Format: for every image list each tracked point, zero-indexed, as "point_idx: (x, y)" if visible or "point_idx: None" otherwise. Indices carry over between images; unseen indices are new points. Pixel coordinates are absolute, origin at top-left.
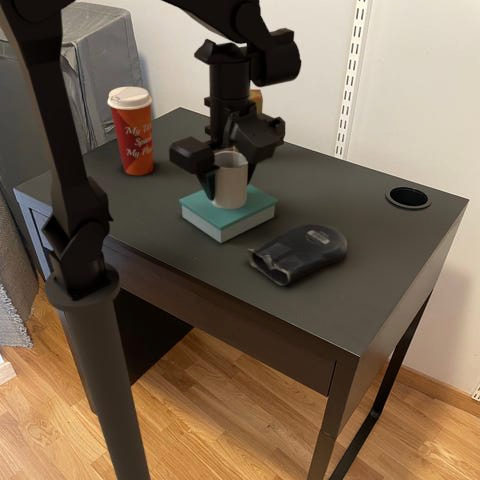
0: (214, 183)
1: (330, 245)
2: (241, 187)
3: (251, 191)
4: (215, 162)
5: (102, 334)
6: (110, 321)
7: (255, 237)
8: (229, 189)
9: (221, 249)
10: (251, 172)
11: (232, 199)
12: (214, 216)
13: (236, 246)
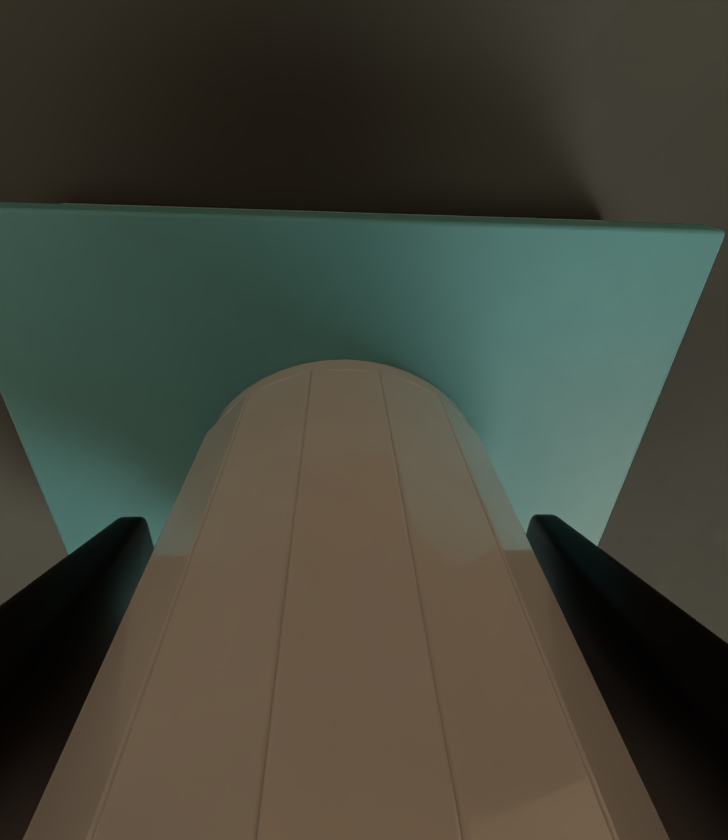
0: (683, 667)
1: None
2: (342, 477)
3: (107, 468)
4: None
5: None
6: None
7: (373, 85)
8: (498, 521)
9: (663, 160)
10: (24, 622)
11: (442, 426)
12: (599, 390)
13: (569, 104)
